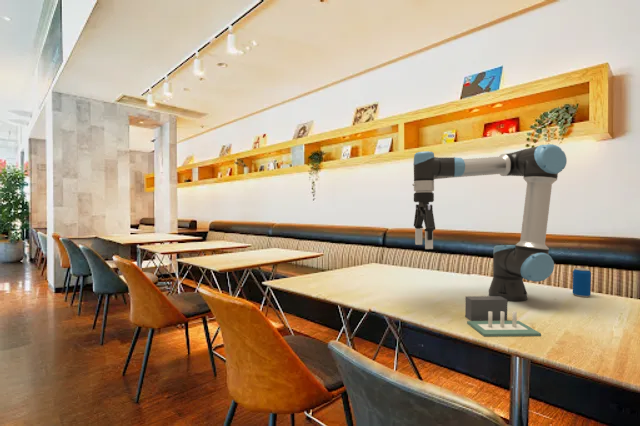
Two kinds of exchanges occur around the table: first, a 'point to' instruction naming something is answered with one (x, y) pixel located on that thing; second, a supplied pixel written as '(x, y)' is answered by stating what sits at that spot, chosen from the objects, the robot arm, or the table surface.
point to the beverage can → (581, 282)
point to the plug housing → (485, 307)
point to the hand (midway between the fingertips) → (423, 246)
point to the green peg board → (503, 327)
